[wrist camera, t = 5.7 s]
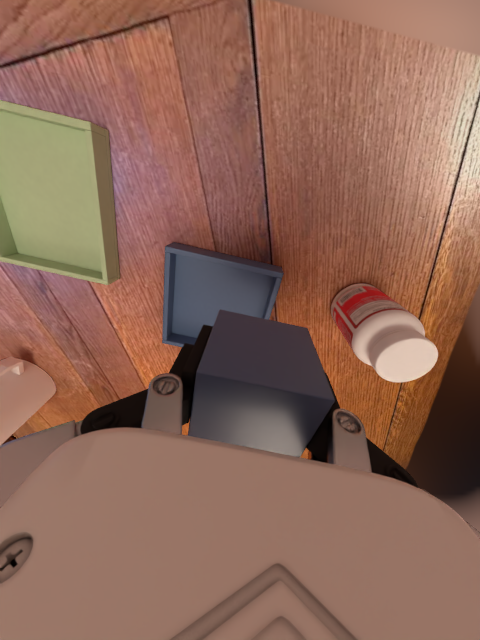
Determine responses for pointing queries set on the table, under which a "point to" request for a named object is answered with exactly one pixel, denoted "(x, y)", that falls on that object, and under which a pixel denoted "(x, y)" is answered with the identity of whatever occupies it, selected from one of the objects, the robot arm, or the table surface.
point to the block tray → (212, 290)
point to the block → (259, 386)
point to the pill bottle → (383, 333)
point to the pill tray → (56, 195)
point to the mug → (21, 393)
